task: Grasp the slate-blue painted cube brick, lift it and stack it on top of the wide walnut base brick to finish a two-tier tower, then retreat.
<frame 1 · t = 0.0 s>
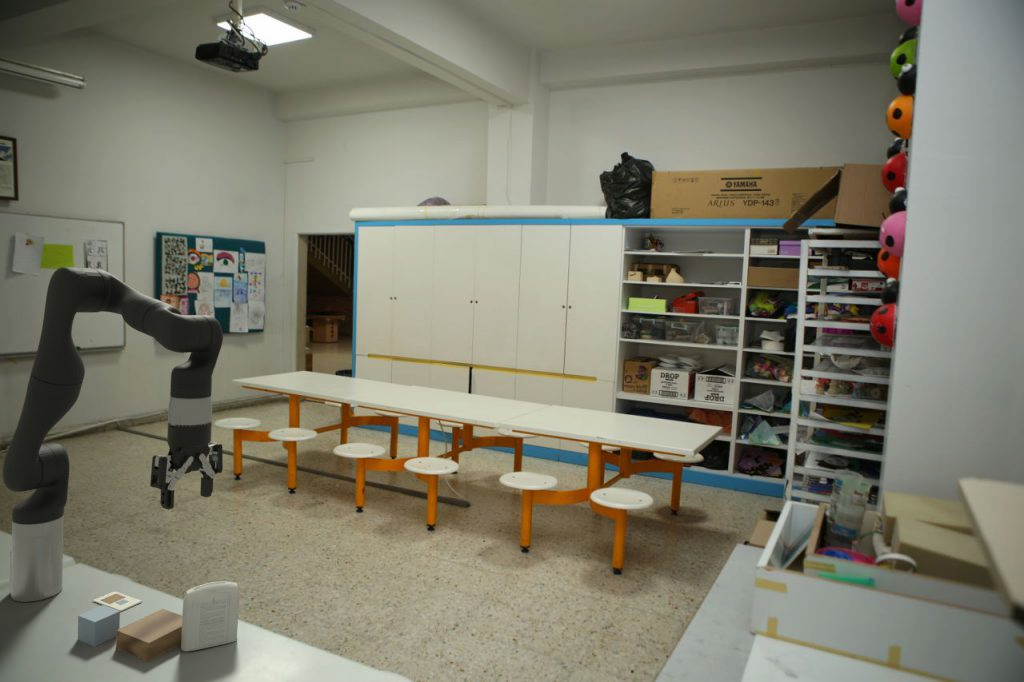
hand: (187, 502, 124), 29 cm above the table, fingers open, 8 cm apart
base brick: (155, 644, 127), on the table
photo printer: (209, 644, 128), on the table
instruction page: (117, 601, 142), on the table
top brick: (98, 637, 128), on the table
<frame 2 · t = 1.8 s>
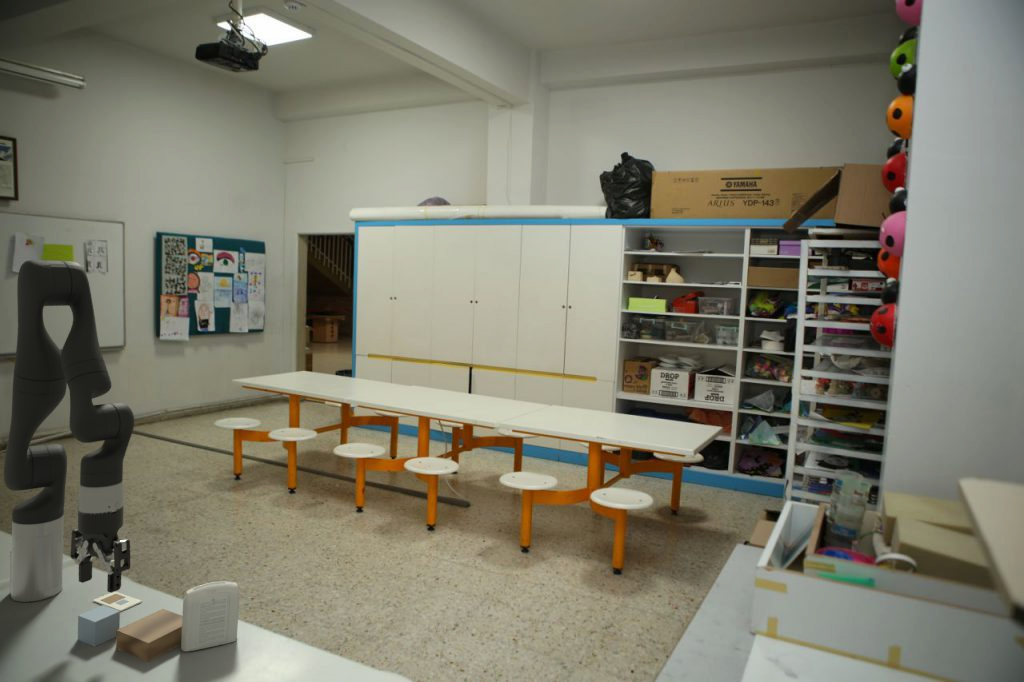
hand: (99, 585, 127), 11 cm above the table, fingers open, 8 cm apart
nothing on the table moved.
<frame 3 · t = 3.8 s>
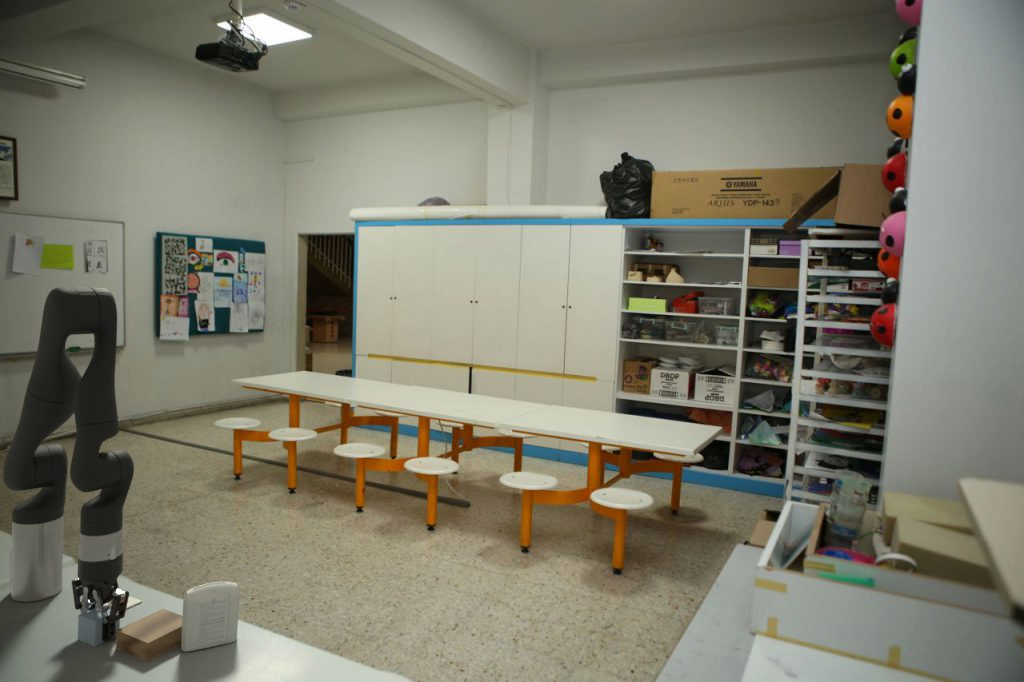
hand: (98, 634, 128), 0 cm above the table, fingers closed on top brick, 5 cm apart
top brick: (98, 637, 128), on the table, touching gripper
everything else where it was.
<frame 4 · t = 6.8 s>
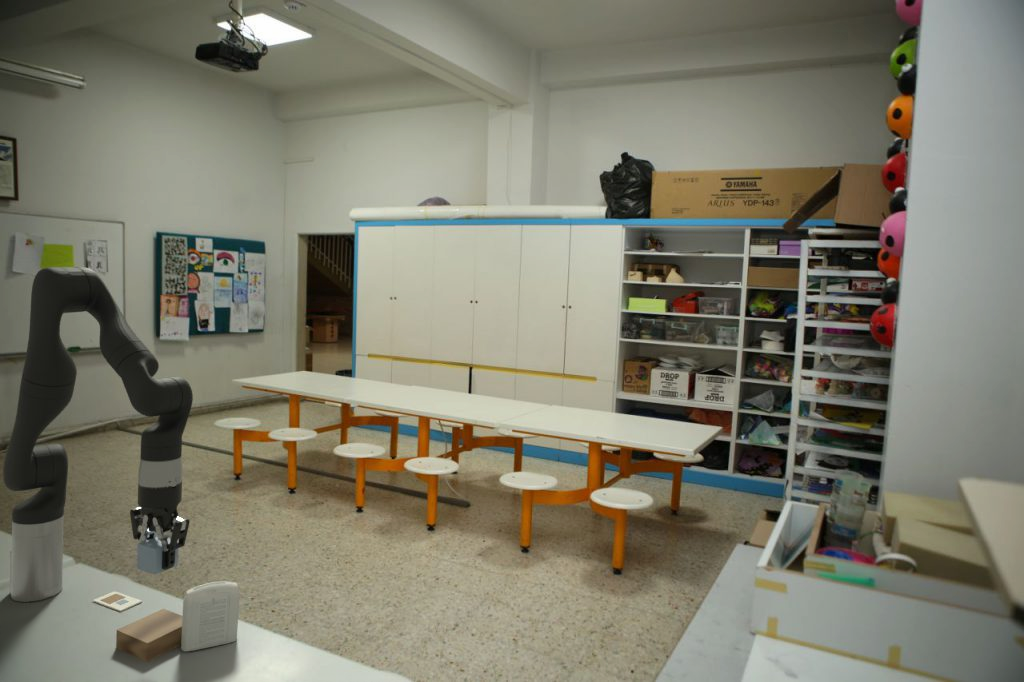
hand: (157, 564, 126), 16 cm above the table, fingers closed on top brick, 5 cm apart
top brick: (157, 567, 126), point 15 cm above the table, touching gripper
everything else where it was.
when the fingers open (5 cm above the table, at t = 9.9 s): top brick drops 1 cm, point 4 cm above the table.
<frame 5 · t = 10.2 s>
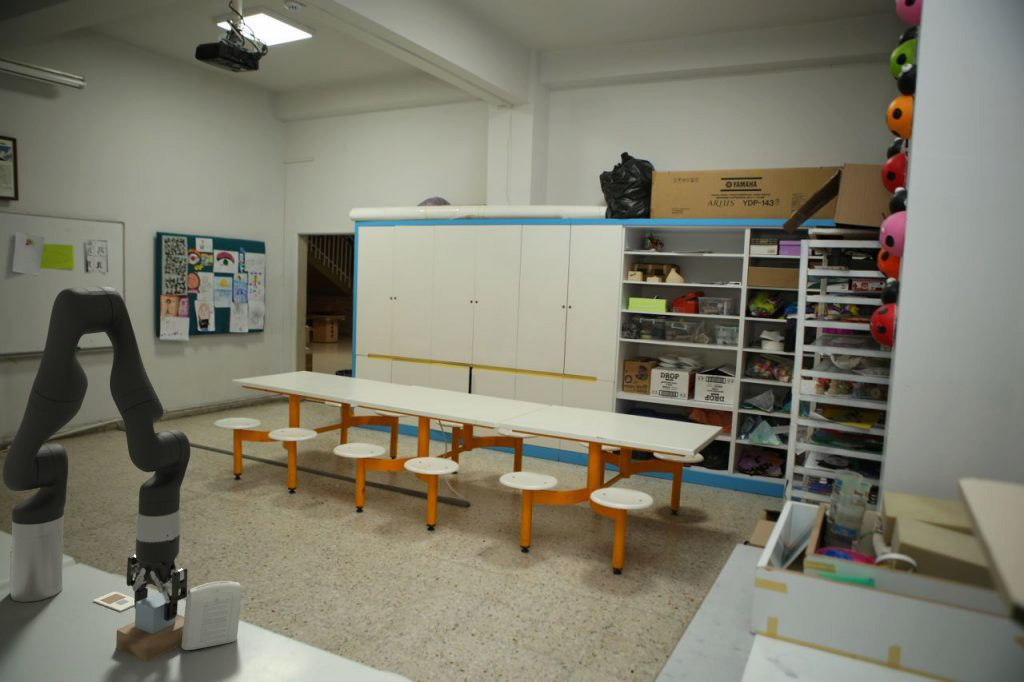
hand: (155, 613, 127), 6 cm above the table, fingers open, 7 cm apart
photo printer: (209, 643, 128), on the table, touching hand
top brick: (155, 625, 127), point 4 cm above the table
everything else where it was.
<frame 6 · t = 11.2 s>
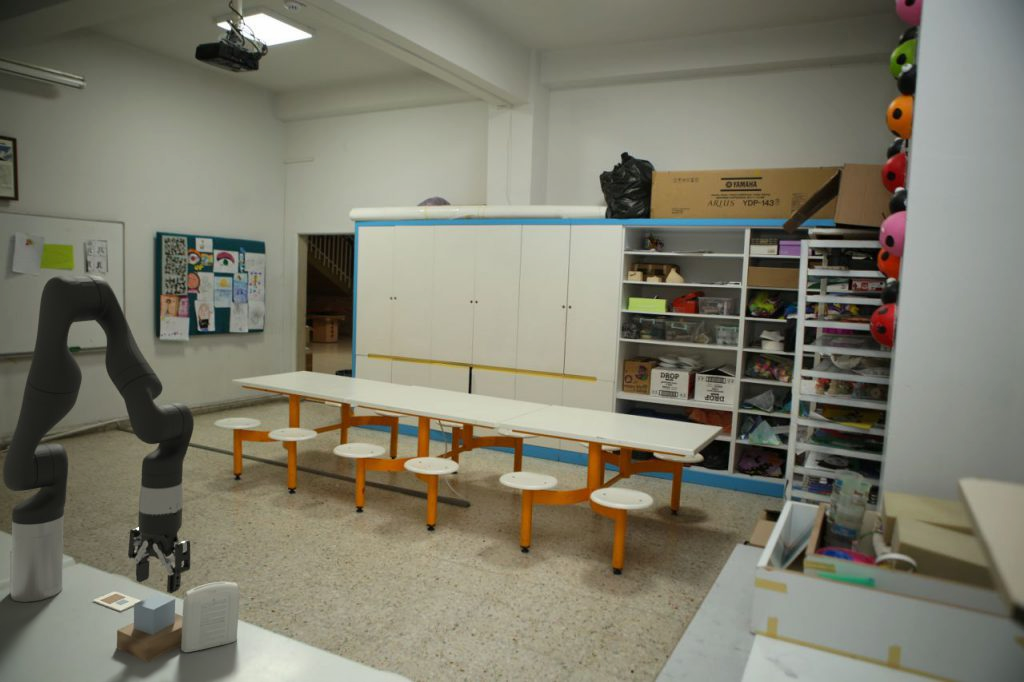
hand: (157, 585, 127), 11 cm above the table, fingers open, 8 cm apart
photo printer: (209, 644, 128), on the table
everything else where it was.
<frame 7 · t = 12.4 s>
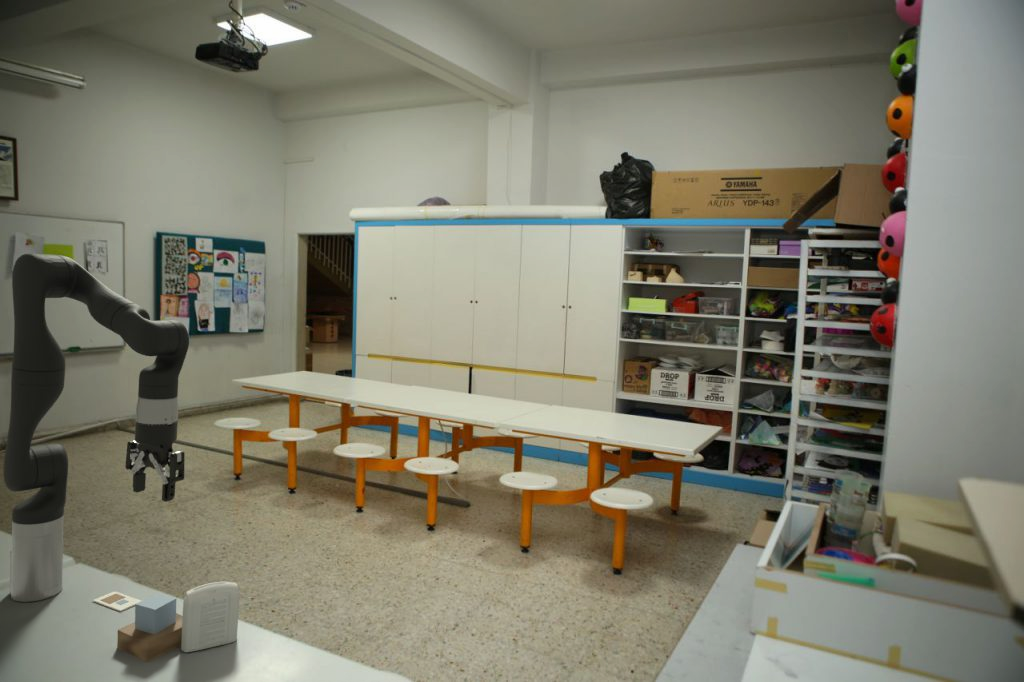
hand: (153, 495, 132), 27 cm above the table, fingers open, 8 cm apart
nothing on the table moved.
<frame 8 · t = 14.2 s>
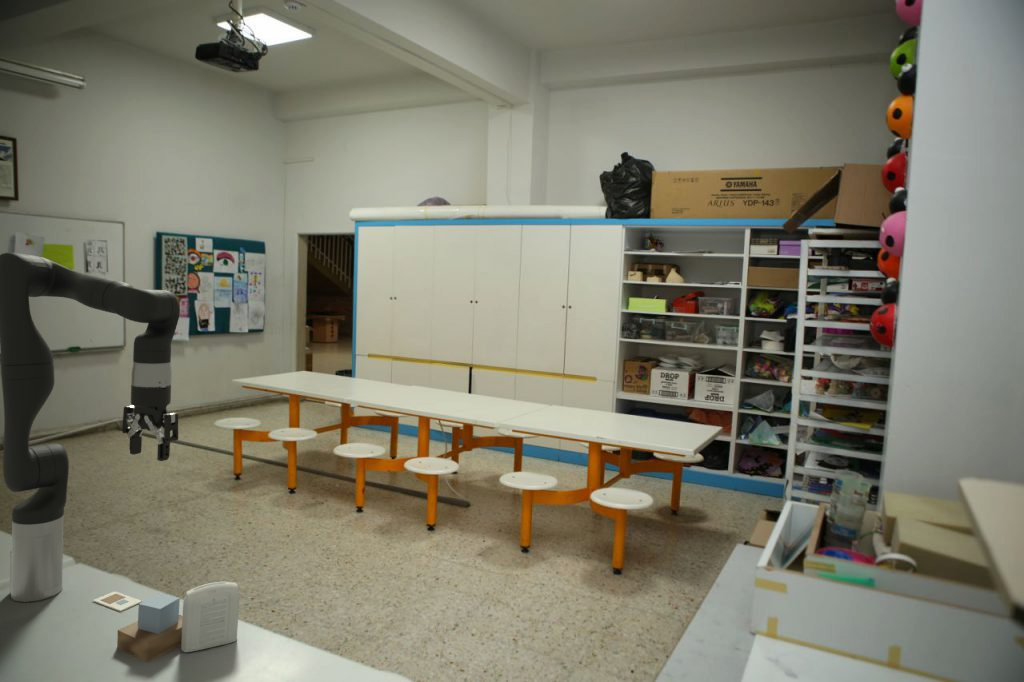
hand: (149, 457, 139), 33 cm above the table, fingers open, 8 cm apart
nothing on the table moved.
at the end: top brick inside the target area on the base brick (0.3 cm from its centre), point 4.0 cm above the base brick's base; top brick tilted 0°; the gripper is holding nothing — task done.
